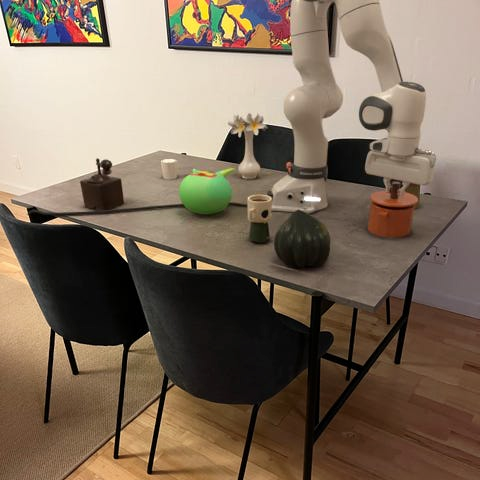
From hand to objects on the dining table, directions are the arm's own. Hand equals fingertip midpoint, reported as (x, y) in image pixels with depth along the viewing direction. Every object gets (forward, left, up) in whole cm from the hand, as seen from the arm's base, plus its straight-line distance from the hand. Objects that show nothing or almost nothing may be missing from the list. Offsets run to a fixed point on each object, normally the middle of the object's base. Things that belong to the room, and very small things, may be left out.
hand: (394, 194), depth 144 cm
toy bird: (-59, +15, -12) cm, 62 cm away
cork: (+12, +24, -12) cm, 29 cm away
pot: (0, 0, -12) cm, 12 cm away
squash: (-28, -24, -12) cm, 39 cm away
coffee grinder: (-95, +19, -12) cm, 98 cm away
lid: (0, 0, -2) cm, 2 cm away
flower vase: (-48, +58, -12) cm, 76 cm away
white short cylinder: (-80, +56, -12) cm, 98 cm away
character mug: (-40, -9, -12) cm, 43 cm away
